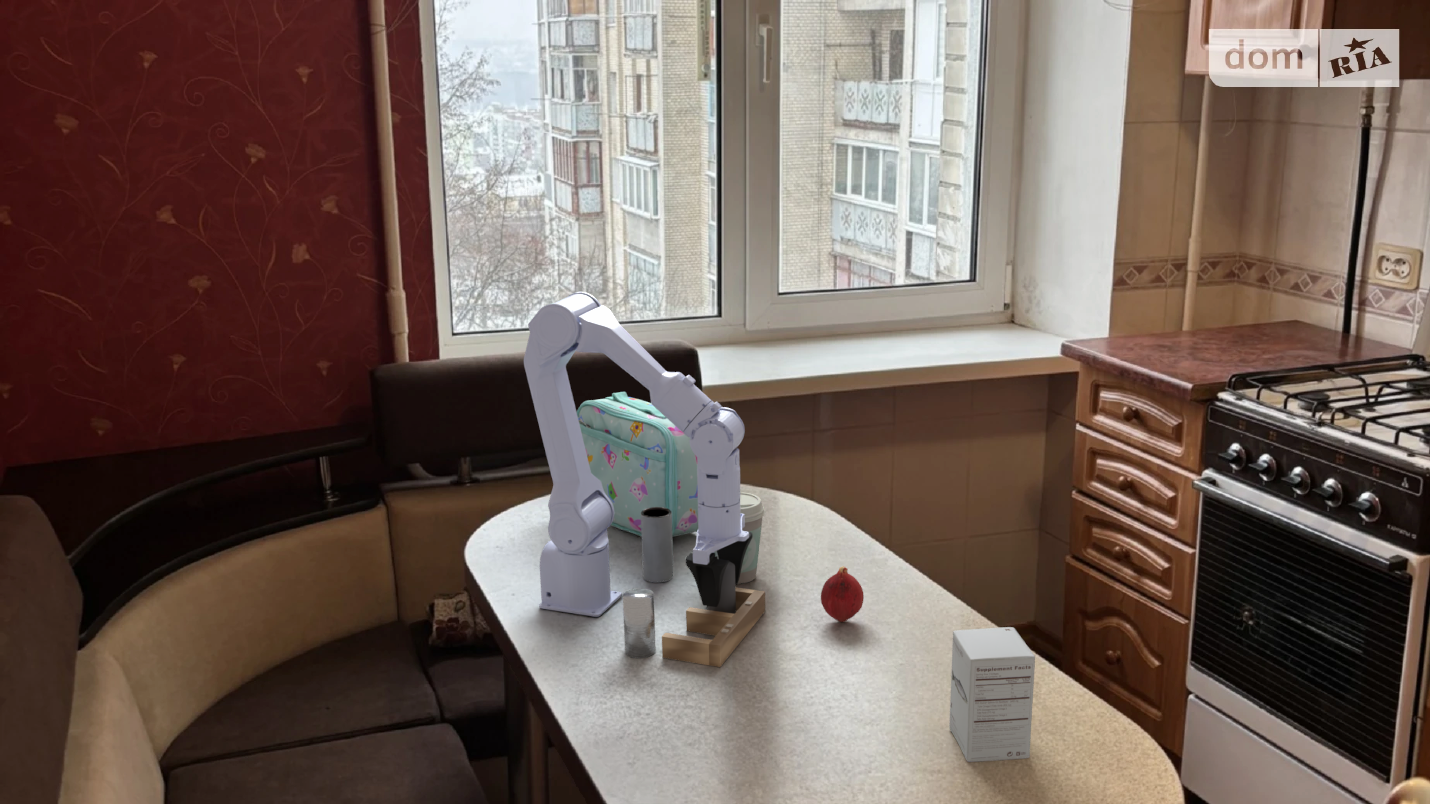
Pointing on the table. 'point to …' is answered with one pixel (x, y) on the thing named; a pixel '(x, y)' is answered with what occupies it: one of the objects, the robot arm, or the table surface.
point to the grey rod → (639, 623)
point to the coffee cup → (753, 524)
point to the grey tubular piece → (657, 544)
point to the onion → (842, 596)
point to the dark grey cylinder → (727, 592)
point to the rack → (715, 630)
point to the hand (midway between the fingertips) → (720, 594)
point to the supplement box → (991, 694)
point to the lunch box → (640, 461)
